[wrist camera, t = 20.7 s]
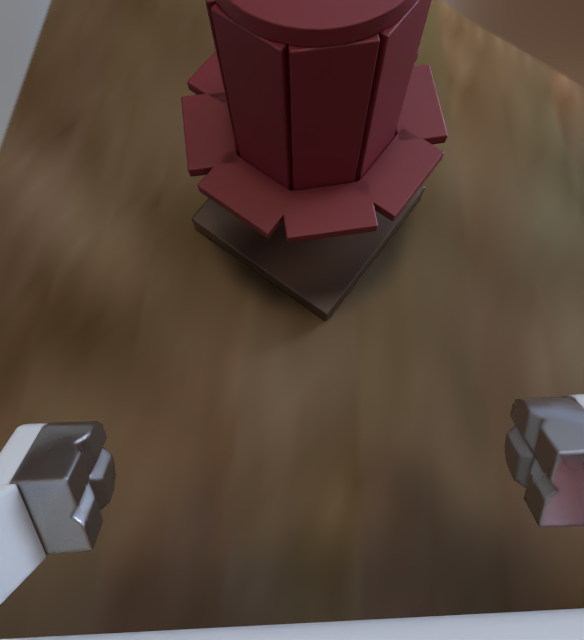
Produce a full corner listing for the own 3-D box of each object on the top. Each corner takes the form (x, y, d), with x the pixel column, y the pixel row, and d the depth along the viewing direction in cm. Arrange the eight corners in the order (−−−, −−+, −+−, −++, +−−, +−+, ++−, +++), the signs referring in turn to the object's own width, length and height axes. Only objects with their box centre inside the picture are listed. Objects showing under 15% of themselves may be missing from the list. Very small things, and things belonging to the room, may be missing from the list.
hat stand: (194, 228, 29) (84, -18, 14) (292, 116, 31) (283, -203, 16) (326, 321, 27) (353, 152, 13) (421, 197, 29) (540, -75, 15)
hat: (134, 147, 21) (40, -34, 14) (287, -15, 24) (280, -250, 16) (341, 290, 20) (366, 174, 12) (486, 100, 22) (588, -103, 14)
